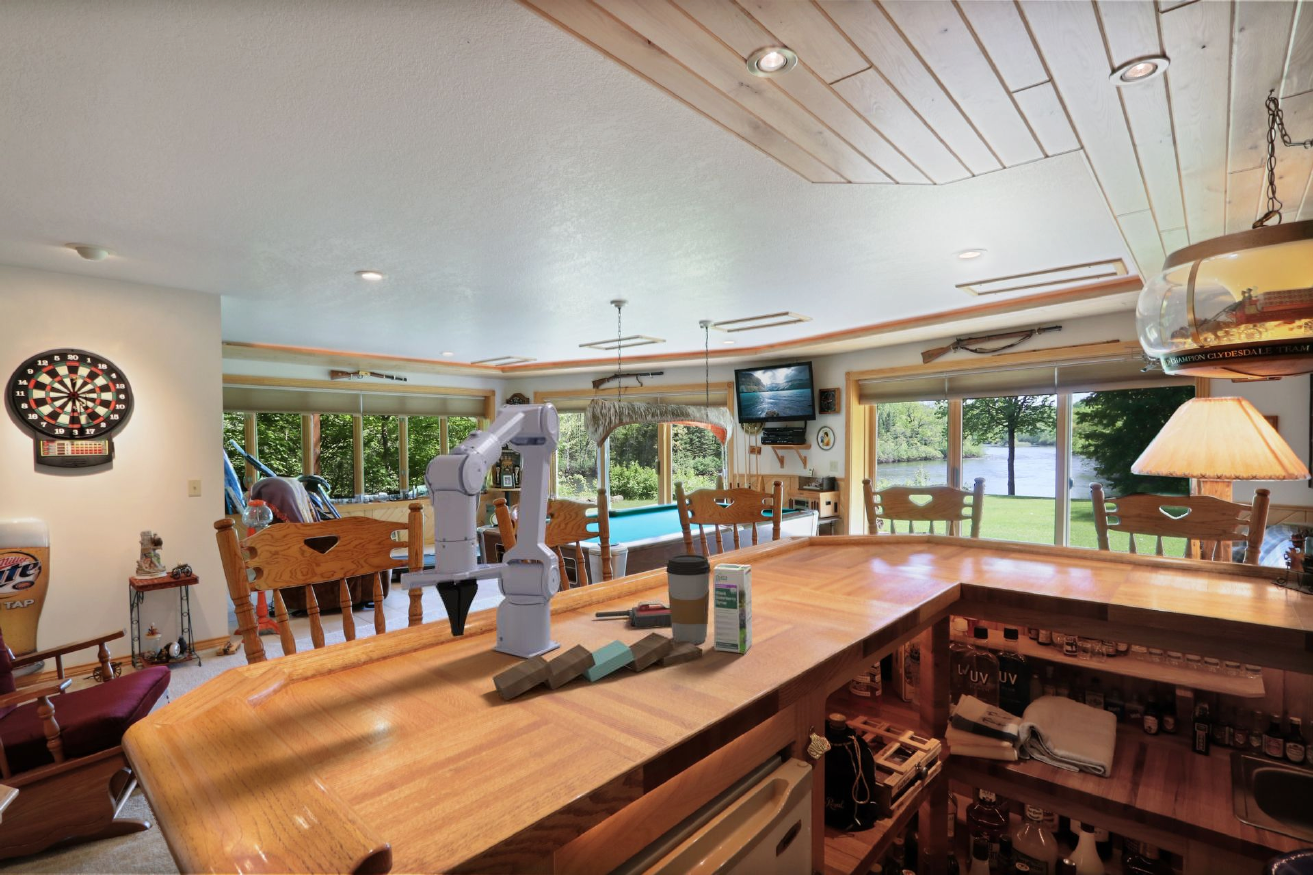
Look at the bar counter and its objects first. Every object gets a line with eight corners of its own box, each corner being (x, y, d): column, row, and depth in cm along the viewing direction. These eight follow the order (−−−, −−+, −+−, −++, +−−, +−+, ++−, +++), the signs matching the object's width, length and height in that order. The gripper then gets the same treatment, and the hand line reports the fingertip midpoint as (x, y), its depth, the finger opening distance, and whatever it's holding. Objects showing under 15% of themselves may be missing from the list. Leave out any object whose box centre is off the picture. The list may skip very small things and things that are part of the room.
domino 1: (502, 688, 86) (549, 663, 90) (492, 677, 91) (538, 653, 94) (506, 701, 87) (553, 675, 90) (496, 689, 91) (541, 665, 95)
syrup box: (713, 650, 106) (711, 567, 106) (722, 640, 111) (721, 561, 111) (745, 654, 104) (743, 569, 104) (753, 643, 109) (751, 563, 109)
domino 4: (634, 660, 96) (670, 638, 100) (618, 652, 100) (653, 632, 104) (637, 671, 96) (673, 649, 101) (621, 663, 100) (656, 642, 105)
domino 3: (588, 670, 93) (630, 648, 96) (576, 660, 97) (617, 639, 100) (592, 682, 93) (634, 659, 96) (580, 671, 97) (620, 650, 101)
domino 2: (548, 678, 90) (591, 652, 93) (537, 668, 94) (579, 643, 98) (552, 690, 90) (595, 664, 94) (541, 679, 95) (582, 654, 98)
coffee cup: (709, 647, 107) (707, 563, 108) (663, 645, 109) (661, 562, 109) (714, 633, 116) (713, 554, 116) (671, 631, 117) (670, 553, 117)
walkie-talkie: (688, 614, 130) (595, 619, 127) (687, 593, 130) (594, 598, 127) (697, 626, 122) (597, 632, 119) (696, 604, 122) (596, 610, 119)
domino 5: (664, 657, 99) (702, 649, 103) (649, 649, 103) (686, 640, 107) (664, 670, 99) (702, 660, 103) (649, 660, 103) (686, 652, 107)
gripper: (403, 547, 79) (404, 651, 79) (513, 537, 86) (515, 633, 86) (399, 540, 86) (400, 636, 86) (502, 531, 92) (503, 620, 92)
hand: (457, 633), depth 86 cm, fingers closed
